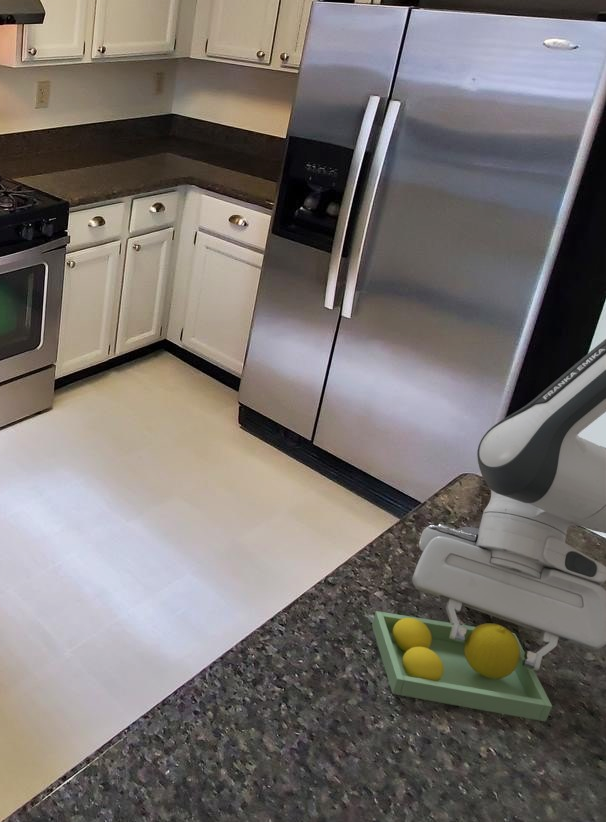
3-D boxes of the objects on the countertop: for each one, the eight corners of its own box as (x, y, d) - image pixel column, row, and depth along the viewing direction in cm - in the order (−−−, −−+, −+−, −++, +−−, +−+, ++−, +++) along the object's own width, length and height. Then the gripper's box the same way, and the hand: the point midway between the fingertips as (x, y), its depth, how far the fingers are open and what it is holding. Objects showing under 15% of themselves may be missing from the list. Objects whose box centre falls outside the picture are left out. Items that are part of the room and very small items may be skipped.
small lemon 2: (432, 667, 101) (441, 642, 100) (443, 695, 98) (452, 669, 96) (394, 661, 102) (402, 636, 101) (403, 688, 99) (412, 662, 97)
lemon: (457, 651, 104) (474, 604, 100) (508, 668, 101) (527, 621, 98) (457, 681, 100) (474, 633, 96) (509, 699, 97) (529, 651, 94)
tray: (508, 650, 105) (515, 633, 103) (544, 724, 94) (552, 706, 93) (370, 627, 108) (375, 610, 107) (391, 697, 98) (397, 678, 97)
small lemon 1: (421, 638, 106) (429, 613, 104) (431, 664, 102) (440, 638, 100) (385, 632, 107) (393, 607, 105) (393, 657, 103) (401, 632, 101)
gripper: (427, 514, 104) (399, 616, 101) (625, 574, 93) (601, 691, 90) (423, 523, 109) (396, 621, 106) (610, 581, 99) (586, 692, 96)
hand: (492, 654), depth 98 cm, fingers open, 6 cm apart
